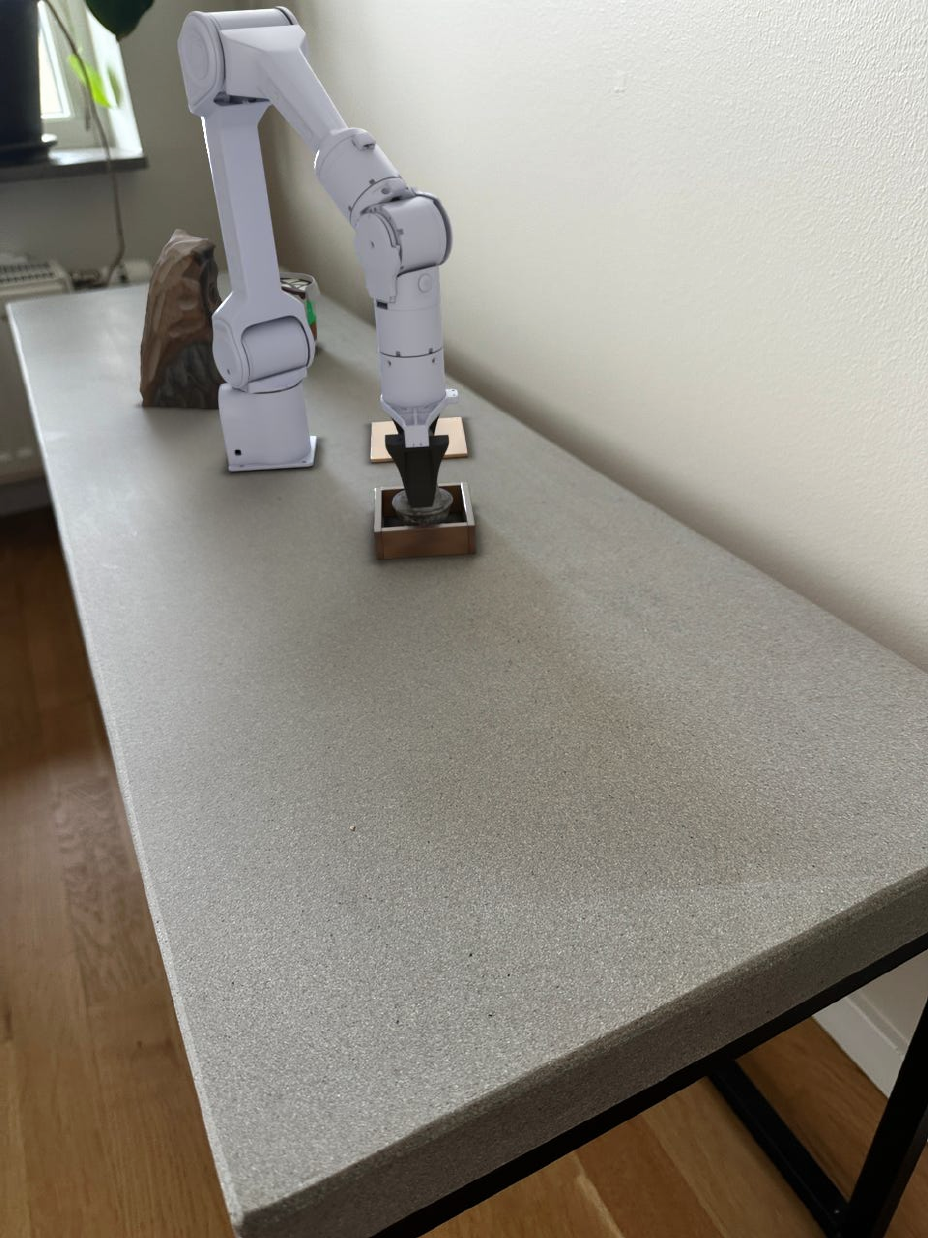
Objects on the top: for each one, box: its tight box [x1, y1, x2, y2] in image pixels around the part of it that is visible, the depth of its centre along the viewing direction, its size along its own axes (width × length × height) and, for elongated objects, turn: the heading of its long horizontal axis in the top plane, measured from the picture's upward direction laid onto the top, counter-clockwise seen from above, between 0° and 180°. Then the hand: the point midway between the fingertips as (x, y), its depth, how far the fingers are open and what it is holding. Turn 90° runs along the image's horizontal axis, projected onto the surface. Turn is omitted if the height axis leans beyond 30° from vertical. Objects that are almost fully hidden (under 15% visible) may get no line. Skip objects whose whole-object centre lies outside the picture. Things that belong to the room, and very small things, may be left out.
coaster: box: [370, 416, 469, 463], centre depth 113 cm, size 11×11×1 cm
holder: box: [373, 481, 477, 561], centre depth 94 cm, size 9×9×3 cm
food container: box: [279, 272, 321, 353], centre depth 143 cm, size 12×6×10 cm, turn 58°
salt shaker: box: [392, 428, 453, 527], centre depth 91 cm, size 6×6×12 cm
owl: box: [139, 228, 227, 410], centre depth 124 cm, size 13×13×20 cm
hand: (420, 487), depth 92 cm, fingers open, 7 cm apart
